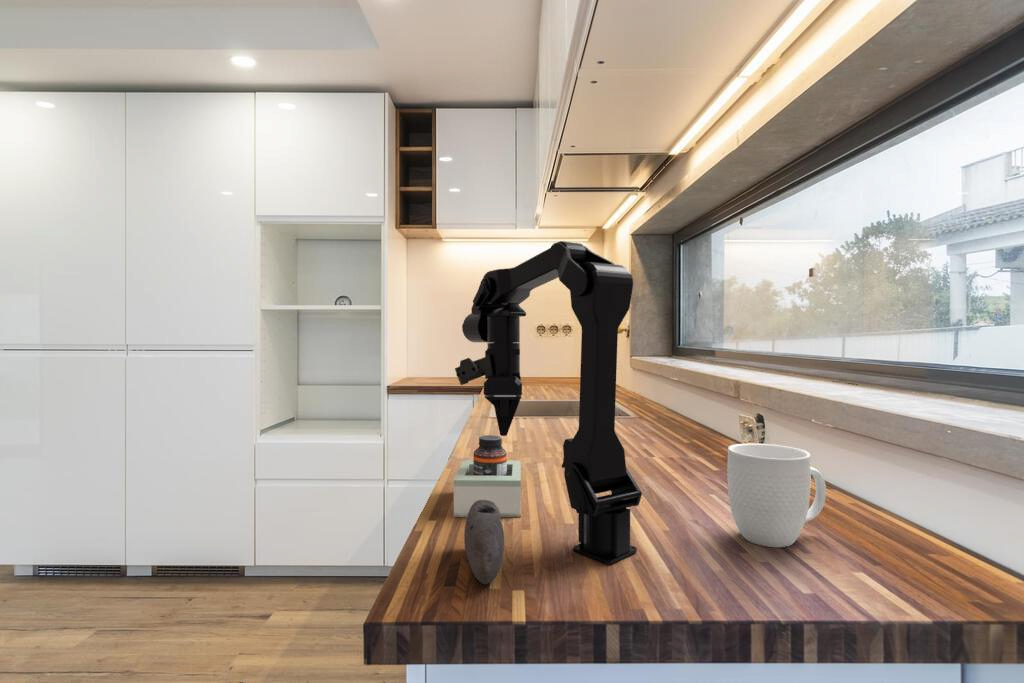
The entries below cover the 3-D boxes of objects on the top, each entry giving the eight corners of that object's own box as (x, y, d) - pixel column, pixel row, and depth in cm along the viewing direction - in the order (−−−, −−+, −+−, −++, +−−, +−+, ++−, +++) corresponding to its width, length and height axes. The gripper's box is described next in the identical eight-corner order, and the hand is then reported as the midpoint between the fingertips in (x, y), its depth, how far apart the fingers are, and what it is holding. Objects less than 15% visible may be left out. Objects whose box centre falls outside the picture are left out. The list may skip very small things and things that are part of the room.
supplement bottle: (466, 503, 95) (466, 438, 95) (484, 494, 100) (484, 432, 100) (496, 508, 92) (496, 441, 92) (512, 498, 97) (512, 435, 97)
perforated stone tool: (506, 596, 63) (506, 536, 62) (460, 597, 62) (460, 536, 62) (502, 545, 78) (502, 496, 77) (466, 546, 77) (465, 497, 77)
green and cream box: (520, 492, 103) (520, 460, 103) (520, 517, 89) (520, 480, 89) (462, 491, 103) (462, 460, 103) (453, 516, 89) (453, 480, 89)
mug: (796, 522, 87) (797, 440, 87) (852, 548, 76) (853, 455, 76) (712, 528, 84) (712, 444, 84) (758, 557, 73) (759, 460, 73)
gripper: (462, 342, 106) (463, 422, 106) (452, 343, 87) (452, 441, 87) (520, 342, 106) (520, 422, 106) (521, 343, 87) (522, 441, 87)
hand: (503, 430), depth 96 cm, fingers open, 9 cm apart
